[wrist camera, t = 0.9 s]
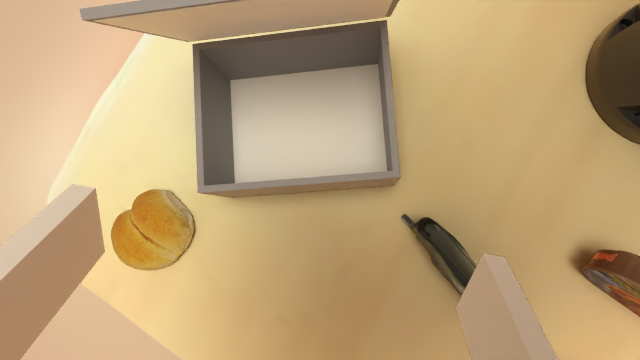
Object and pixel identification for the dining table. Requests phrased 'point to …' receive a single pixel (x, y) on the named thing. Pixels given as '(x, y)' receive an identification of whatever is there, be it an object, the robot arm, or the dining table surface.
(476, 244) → the dining table surface
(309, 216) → the dining table surface
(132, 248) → the bread roll
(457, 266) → the black elongated piece
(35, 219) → the robot arm
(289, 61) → the box
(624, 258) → the tin
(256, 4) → the box lid
